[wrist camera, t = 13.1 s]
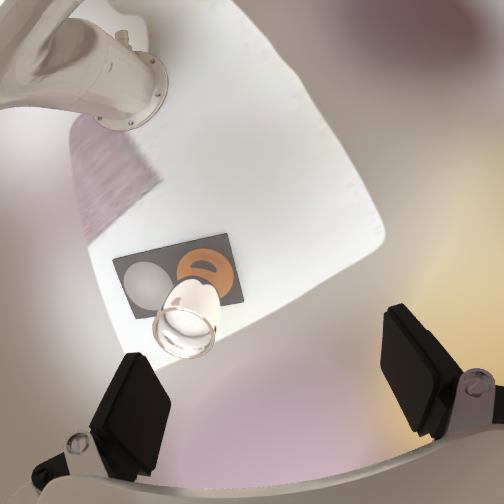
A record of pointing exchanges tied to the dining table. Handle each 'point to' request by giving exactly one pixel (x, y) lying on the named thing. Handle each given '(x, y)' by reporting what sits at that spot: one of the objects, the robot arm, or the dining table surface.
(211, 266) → the beer glass
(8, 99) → the robot arm
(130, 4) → the dining table surface
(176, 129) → the dining table surface
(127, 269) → the mat
